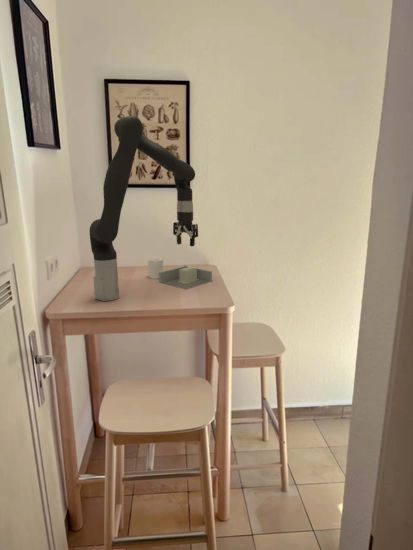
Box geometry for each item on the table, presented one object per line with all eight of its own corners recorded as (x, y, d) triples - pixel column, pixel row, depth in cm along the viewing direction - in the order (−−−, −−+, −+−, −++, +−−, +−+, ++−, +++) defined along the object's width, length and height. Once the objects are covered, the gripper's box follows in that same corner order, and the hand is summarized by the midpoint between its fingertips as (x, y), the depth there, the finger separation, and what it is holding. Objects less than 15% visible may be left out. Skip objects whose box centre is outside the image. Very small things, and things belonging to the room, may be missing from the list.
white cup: (145, 279, 189) (144, 260, 187) (152, 275, 196) (151, 257, 194) (159, 281, 187) (159, 261, 184) (166, 277, 194) (165, 257, 191)
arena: (186, 291, 170) (185, 278, 168) (159, 284, 181) (158, 272, 180) (212, 282, 183) (212, 271, 181) (185, 276, 194) (185, 265, 193)
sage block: (197, 279, 185) (196, 267, 184) (185, 282, 180) (185, 270, 178) (191, 278, 188) (190, 266, 186) (179, 281, 182) (179, 269, 181)
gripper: (201, 210, 173) (202, 245, 177) (180, 209, 182) (180, 242, 187) (190, 212, 168) (190, 248, 172) (168, 210, 177) (169, 244, 181)
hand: (185, 245), depth 179 cm, fingers open, 8 cm apart
